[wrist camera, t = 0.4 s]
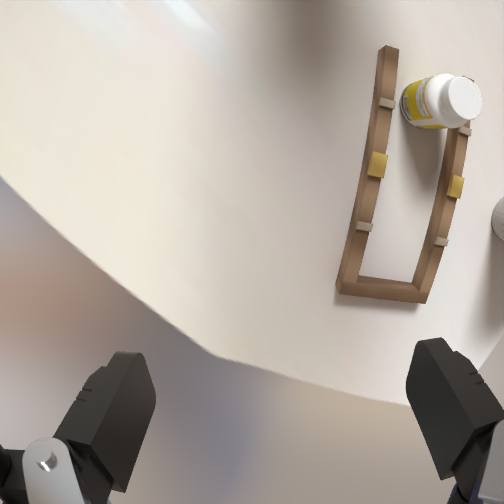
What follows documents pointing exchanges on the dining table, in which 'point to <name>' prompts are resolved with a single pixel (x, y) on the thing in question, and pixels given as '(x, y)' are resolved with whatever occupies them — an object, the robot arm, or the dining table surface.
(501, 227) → the coffee cup
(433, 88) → the supplement bottle
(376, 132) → the wooden u-shaped frame
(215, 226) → the dining table surface
